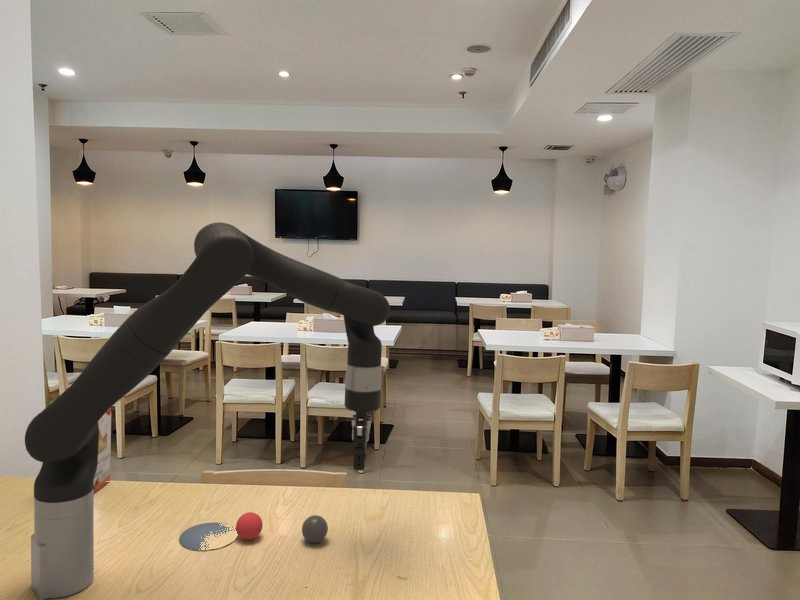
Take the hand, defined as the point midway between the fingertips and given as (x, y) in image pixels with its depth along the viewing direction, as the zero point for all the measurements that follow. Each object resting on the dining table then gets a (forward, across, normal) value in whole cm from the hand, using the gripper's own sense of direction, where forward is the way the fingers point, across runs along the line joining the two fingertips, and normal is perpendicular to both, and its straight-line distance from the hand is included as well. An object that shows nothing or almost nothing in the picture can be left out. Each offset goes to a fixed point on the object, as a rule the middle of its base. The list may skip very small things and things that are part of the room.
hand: (359, 463), depth 123 cm
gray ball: (+15, 0, +9) cm, 17 cm away
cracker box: (+18, +18, +68) cm, 72 cm away
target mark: (+17, 0, +32) cm, 36 cm away
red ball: (+15, 0, +23) cm, 27 cm away
